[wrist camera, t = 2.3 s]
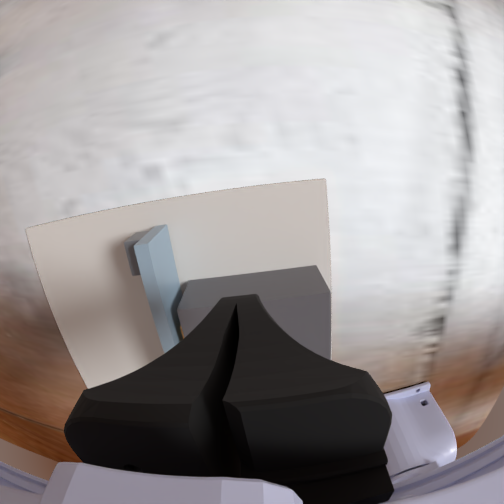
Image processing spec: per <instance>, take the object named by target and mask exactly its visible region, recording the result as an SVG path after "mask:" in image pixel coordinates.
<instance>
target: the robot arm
mask: <svg viewBox="0 0 504 504" xmlns="http://www.w3.org/2000/svg"><path fill="white" fill-rule="evenodd" d="M430 386H431V385H430V383H429V382H425V383H422V384H419V385H415V386H412V387H409V388H405V389H401V390H398V391H394V392H390V393H387V394H383V393H382V391H381V390H380V388H379V387H378V385H377V384H376V383H375V381H374V380H373V379H372V377H371V376H370V375H369V373H368V372H367V371H363V370H360V369H356V368H352V367H349V366H346V365H342V364H339V363H336V362H334V361H332V360H329V359H327V358H324V357H322V356H320V355H318V354H316V353H314V352H313V351H311V350H309V349H307V348H306V347H304V346H303V345H301V344H300V343H298V342H297V341H296V340H294V339H293V338H292V337H291V336H289V335H288V334H287V333H286V332H285V331H284V330H283V329H282V328H281V327H280V326H279V325H278V324H277V323H276V322H275V321H274V319H273V318H272V317H271V316H270V314H269V313H268V312H267V310H266V309H265V307H264V306H263V304H262V302H261V300H260V298H259V296H258V295H257V294H249V295H240V296H231V297H222V298H221V299H220V300H219V301H218V303H217V304H216V305H215V306H214V307H213V308H212V310H211V311H210V312H209V313H208V314H207V316H206V317H205V318H204V319H203V320H202V321H201V322H200V323H199V324H198V325H197V326H196V327H195V328H194V329H193V330H192V331H191V332H190V333H189V334H188V335H187V336H186V337H185V338H184V339H183V340H182V341H180V342H179V343H178V344H177V345H175V346H174V347H173V348H171V349H170V350H169V351H167V352H166V353H165V354H163V355H161V356H160V357H158V358H157V359H155V360H153V361H152V362H150V363H148V364H147V365H145V366H143V367H142V368H140V369H138V370H136V371H134V372H132V373H129V374H127V375H125V376H123V377H121V378H118V379H116V380H113V381H110V382H107V383H104V384H101V385H99V386H95V387H92V388H89V389H86V390H84V391H83V393H82V394H81V396H80V398H79V400H78V401H77V403H76V405H75V407H74V409H73V410H72V412H71V414H70V416H69V418H68V420H67V421H66V423H65V427H64V433H65V437H66V440H67V442H68V443H69V445H70V446H71V448H72V449H73V451H74V452H75V453H76V454H77V456H78V457H79V458H80V459H81V460H82V461H83V463H74V462H60V463H58V464H57V465H56V467H55V469H54V470H53V472H52V475H51V477H50V479H49V481H47V480H44V479H42V478H39V477H36V476H34V475H31V474H28V473H26V472H23V471H21V470H19V469H16V468H14V467H12V466H9V465H7V464H5V463H3V462H0V504H504V435H503V436H502V437H500V438H498V439H496V440H495V441H493V442H491V443H489V444H487V445H485V446H484V447H482V448H480V449H478V450H476V451H474V452H472V453H470V454H468V455H466V456H464V457H462V458H459V459H457V460H455V458H456V453H457V444H456V439H455V435H454V432H453V430H452V428H451V426H450V424H449V422H448V421H447V419H446V417H445V416H444V414H443V412H442V411H441V409H440V407H439V406H438V404H437V403H436V401H435V399H434V398H433V396H432V394H431V393H430V391H429V390H430Z"/></svg>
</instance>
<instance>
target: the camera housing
mask: <svg viewBox="0 0 504 504" xmlns="http://www.w3.org/2000/svg"><path fill="white" fill-rule="evenodd" d="M249 294H257V295H258V296H259V298H260V300H261V302H262V304H263V306H264V307H265V309H266V310H267V312H268V313H269V314H270V316H271V317H272V318H273V319H274V321H275V322H276V323H277V324H278V325H279V326H280V327H281V328H282V329H283V330H284V331H285V332H286V333H287V334H288V335H289V336H291V337H292V338H293V339H294V340H296V341H297V342H298V343H300V344H301V345H303V346H304V347H306V348H307V349H309V350H311V351H313V352H314V353H316V354H318V355H320V356H322V357H324V358H327V359H329V360H331V291H330V289H329V288H328V286H327V284H326V282H325V280H324V278H323V277H322V275H321V273H320V271H319V269H318V267H317V266H316V265H312V266H304V267H296V268H288V269H280V270H272V271H264V272H256V273H248V274H239V275H231V276H222V277H213V278H204V279H195V280H189V282H188V284H187V286H186V289H185V291H184V294H183V296H182V299H181V301H180V303H179V306H178V308H177V312H178V316H179V320H180V324H181V326H180V329H181V333H182V336H183V339H184V338H185V337H186V336H187V335H188V334H189V333H190V332H191V331H192V330H193V329H194V328H195V327H196V326H197V325H198V324H199V323H200V322H201V321H202V320H203V319H204V318H205V317H206V316H207V314H208V313H209V312H210V311H211V310H212V308H213V307H214V306H215V305H216V304H217V303H218V301H219V300H220V299H221V298H222V297H231V296H240V295H249Z"/></svg>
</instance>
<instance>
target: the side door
mask: <svg viewBox="0 0 504 504" xmlns="http://www.w3.org/2000/svg"><path fill="white" fill-rule="evenodd" d="M124 246H125V250H126V254H127V258H128V262H129V266H130V270H131V274H132V276H137V275H141V277H142V281H143V285H144V288H145V292H146V296H147V299H148V303H149V306H150V309H151V313H152V316H153V319H154V323H155V326H156V329H157V332H158V335H159V338H160V341H161V344H162V347H163V350H164V353H166V352H167V351H169V350H170V349H171V348H173V347H174V346H175V345H177V344H178V343H179V342H180V341H182V340H183V336H182V333H181V329H180V326H181V324H180V320H179V316H178V312H177V308H178V306H179V303H180V301H181V299H182V296H183V295H182V291H181V287H180V282H179V278H178V274H177V269H176V265H175V260H174V256H173V251H172V246H171V241H170V236H169V231H168V226H167V224H165V225H159V226H155V227H154V228H152V229H151V230H149V231H142V232H136V233H134V234H133V235H132V236H131V237H130V238H128V239H127V240H126V241H125V242H124Z"/></svg>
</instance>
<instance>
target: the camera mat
mask: <svg viewBox="0 0 504 504" xmlns="http://www.w3.org/2000/svg"><path fill="white" fill-rule="evenodd" d="M165 224H167V226H168V231H169V236H170V241H171V246H172V251H173V256H174V260H175V265H176V269H177V274H178V278H179V282H180V287H181V291H182V295H183V294H184V291H185V289H186V286H187V284H188V282H189V280H195V279H204V278H213V277H222V276H231V275H239V274H248V273H256V272H264V271H272V270H280V269H288V268H296V267H304V266H312V265H316V266H317V267H318V269H319V271H320V273H321V275H322V277H323V278H324V280H325V282H326V284H327V286H328V288H329V289H330V291H331V355H332V286H331V254H330V232H329V215H328V200H327V187H326V179H325V178H323V179H312V180H302V181H292V182H282V183H273V184H265V185H256V186H248V187H241V188H233V189H226V190H219V191H212V192H205V193H198V194H192V195H185V196H179V197H173V198H167V199H161V200H155V201H150V202H144V203H139V204H133V205H128V206H123V207H118V208H113V209H108V210H103V211H98V212H93V213H89V214H84V215H79V216H75V217H70V218H66V219H62V220H57V221H53V222H49V223H45V224H41V225H37V226H33V227H29V228H26V233H27V237H28V240H29V244H30V248H31V251H32V255H33V258H34V261H35V265H36V268H37V271H38V274H39V277H40V280H41V283H42V286H43V289H44V292H45V295H46V297H47V300H48V303H49V305H50V308H51V310H52V313H53V316H54V318H55V320H56V323H57V325H58V328H59V330H60V332H61V335H62V337H63V339H64V341H65V344H66V346H67V348H68V350H69V352H70V354H71V356H72V359H73V361H74V363H75V365H76V367H77V369H78V371H79V373H80V375H81V376H82V378H83V380H84V382H85V384H86V386H87V388H88V389H89V388H92V387H95V386H99V385H101V384H104V383H107V382H110V381H113V380H116V379H118V378H121V377H123V376H125V375H127V374H129V373H132V372H134V371H136V370H138V369H140V368H142V367H143V366H145V365H147V364H148V363H150V362H152V361H153V360H155V359H157V358H158V357H160V356H161V355H163V354H165V353H164V350H163V347H162V344H161V341H160V338H159V335H158V332H157V329H156V326H155V323H154V319H153V316H152V313H151V309H150V306H149V303H148V299H147V296H146V292H145V288H144V285H143V281H142V277H141V275H137V276H132V274H131V270H130V266H129V262H128V258H127V254H126V250H125V246H124V242H125V241H126V240H127V239H128V238H130V237H131V236H132V235H133V234H134V233H136V232H142V231H149V230H151V229H152V228H154V227H155V226H159V225H165Z"/></svg>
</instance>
